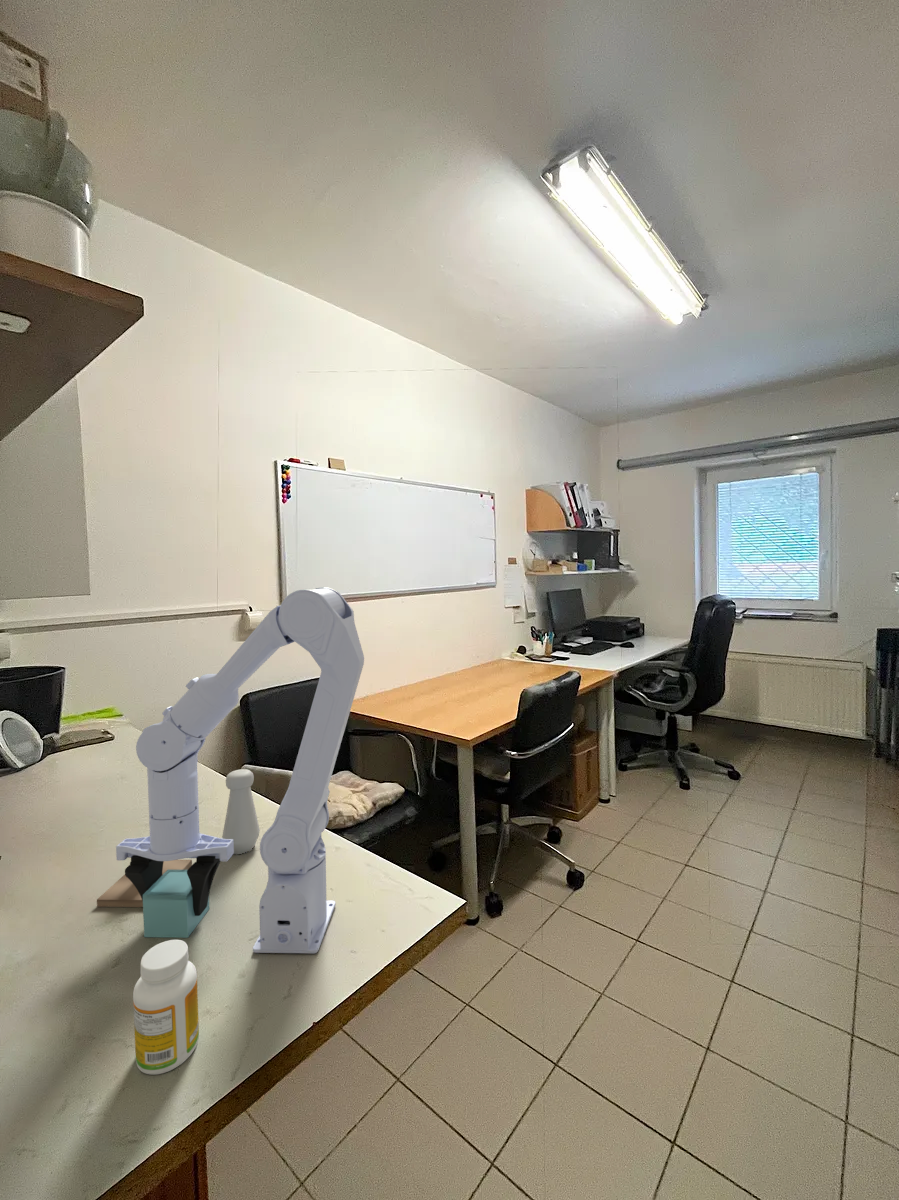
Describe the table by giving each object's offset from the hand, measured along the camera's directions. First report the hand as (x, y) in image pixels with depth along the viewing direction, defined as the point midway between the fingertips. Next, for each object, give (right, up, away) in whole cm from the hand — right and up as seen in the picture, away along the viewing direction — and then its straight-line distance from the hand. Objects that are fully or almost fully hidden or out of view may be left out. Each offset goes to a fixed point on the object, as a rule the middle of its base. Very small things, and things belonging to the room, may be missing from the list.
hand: (177, 910), depth 68 cm
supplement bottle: (+9, -3, -18) cm, 20 cm away
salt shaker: (+1, -1, +18) cm, 18 cm away
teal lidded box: (0, -2, 0) cm, 2 cm away
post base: (-9, -1, +8) cm, 12 cm away
